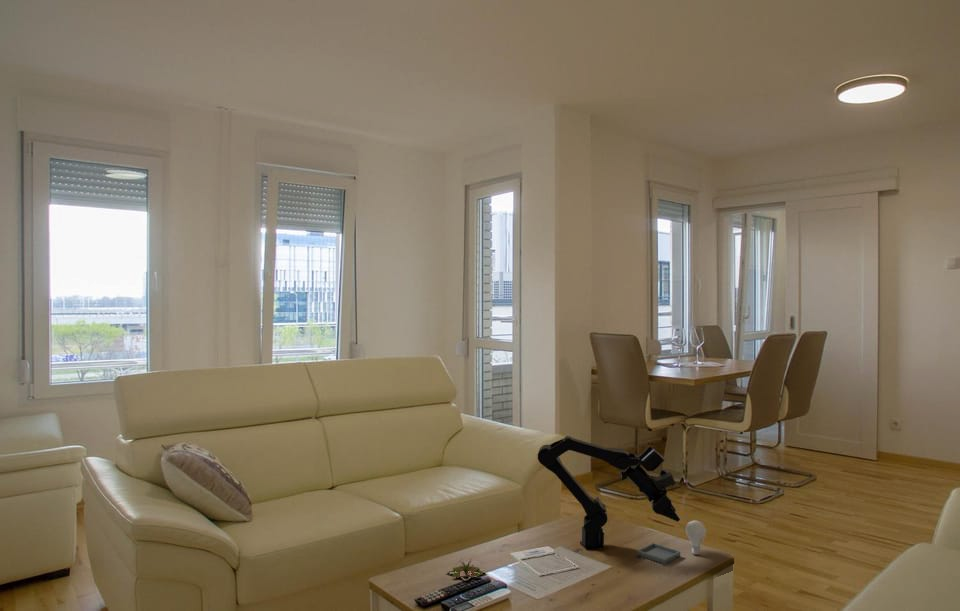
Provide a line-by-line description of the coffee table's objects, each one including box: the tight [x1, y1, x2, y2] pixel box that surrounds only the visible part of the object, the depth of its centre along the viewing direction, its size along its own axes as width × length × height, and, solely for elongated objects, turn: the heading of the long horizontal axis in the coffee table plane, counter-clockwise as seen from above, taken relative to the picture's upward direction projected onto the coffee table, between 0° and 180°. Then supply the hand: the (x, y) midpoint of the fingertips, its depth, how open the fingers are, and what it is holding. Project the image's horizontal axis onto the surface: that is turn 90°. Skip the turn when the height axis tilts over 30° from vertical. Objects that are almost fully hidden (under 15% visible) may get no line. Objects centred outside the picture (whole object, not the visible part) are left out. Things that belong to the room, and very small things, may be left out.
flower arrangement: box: [447, 558, 486, 580], centre depth 184 cm, size 12×12×5 cm
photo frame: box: [509, 546, 580, 575], centre depth 195 cm, size 15×1×18 cm
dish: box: [636, 542, 681, 567], centre depth 199 cm, size 10×10×2 cm
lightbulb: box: [685, 519, 707, 556], centre depth 202 cm, size 6×6×11 cm
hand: (676, 515), depth 203 cm, fingers open, 9 cm apart
